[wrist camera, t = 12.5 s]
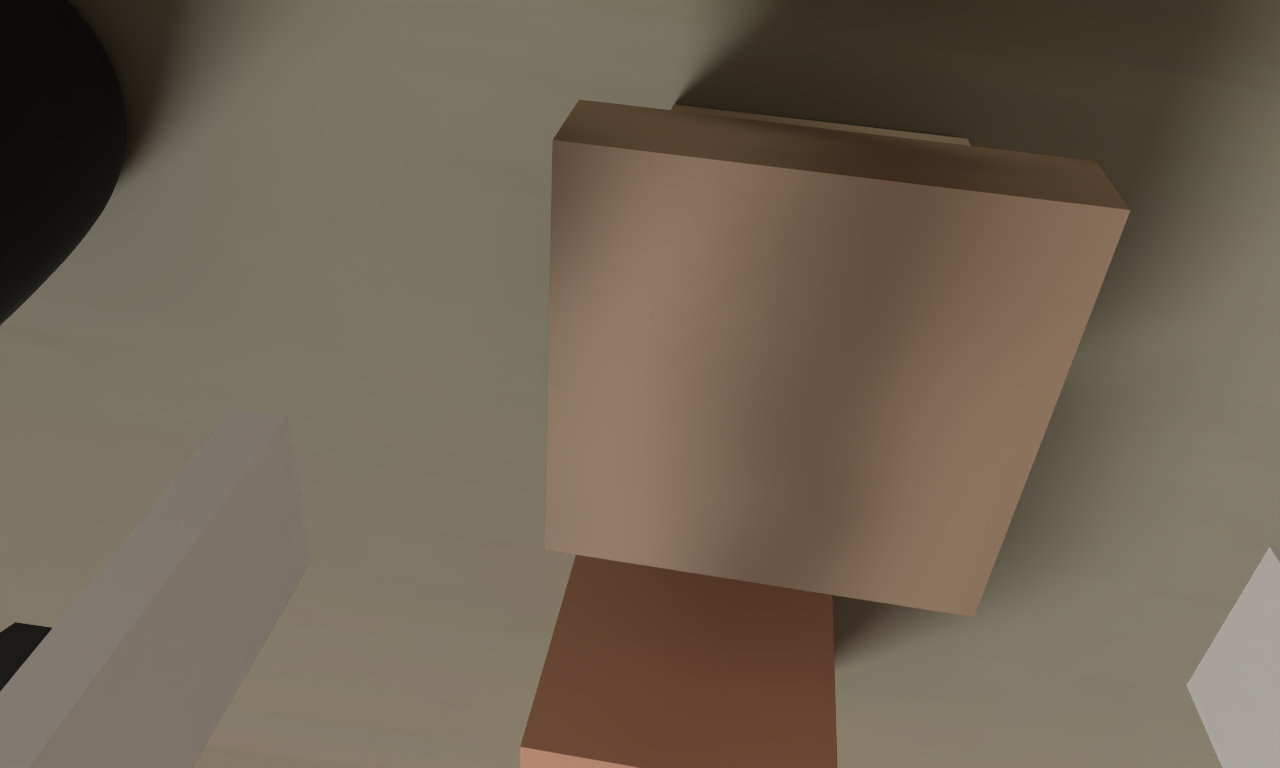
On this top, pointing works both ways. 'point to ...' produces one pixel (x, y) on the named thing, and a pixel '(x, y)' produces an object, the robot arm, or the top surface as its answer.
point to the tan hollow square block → (684, 674)
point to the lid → (808, 347)
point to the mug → (52, 141)
